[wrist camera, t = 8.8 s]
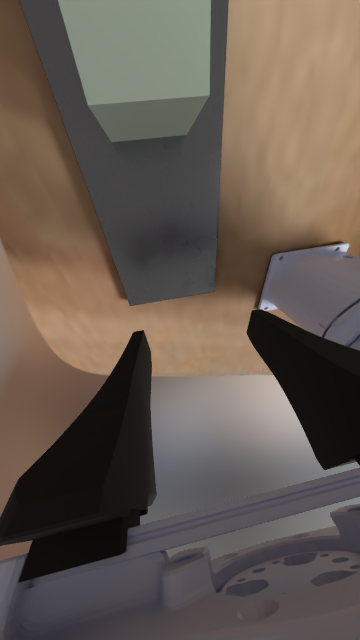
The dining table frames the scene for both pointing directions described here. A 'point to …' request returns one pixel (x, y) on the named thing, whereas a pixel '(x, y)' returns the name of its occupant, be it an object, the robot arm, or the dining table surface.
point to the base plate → (145, 172)
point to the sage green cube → (141, 63)
